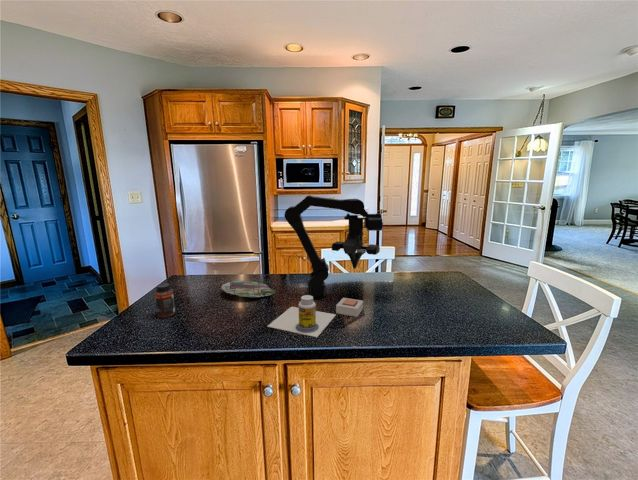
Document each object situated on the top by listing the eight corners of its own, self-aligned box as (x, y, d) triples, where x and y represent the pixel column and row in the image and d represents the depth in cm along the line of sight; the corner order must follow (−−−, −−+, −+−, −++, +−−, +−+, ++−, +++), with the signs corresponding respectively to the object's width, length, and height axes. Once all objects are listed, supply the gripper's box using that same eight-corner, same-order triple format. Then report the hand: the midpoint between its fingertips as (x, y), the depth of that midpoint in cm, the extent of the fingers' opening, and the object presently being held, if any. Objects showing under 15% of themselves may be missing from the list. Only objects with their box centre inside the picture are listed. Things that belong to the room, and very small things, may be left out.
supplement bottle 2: (296, 329, 97) (295, 299, 95) (302, 321, 103) (301, 293, 101) (312, 331, 96) (312, 301, 94) (317, 323, 101) (317, 295, 99)
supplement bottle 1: (179, 312, 110) (176, 283, 108) (166, 319, 105) (162, 288, 103) (166, 310, 112) (163, 281, 110) (153, 317, 107) (149, 286, 105)
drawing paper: (267, 326, 100) (267, 325, 100) (291, 307, 115) (291, 306, 115) (317, 337, 93) (317, 336, 93) (335, 315, 108) (335, 314, 108)
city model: (287, 300, 127) (288, 286, 127) (232, 307, 114) (233, 291, 113) (262, 284, 147) (262, 272, 147) (213, 289, 134) (214, 275, 133)
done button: (342, 309, 110) (342, 303, 110) (346, 305, 114) (346, 298, 114) (353, 311, 109) (353, 304, 108) (356, 306, 113) (357, 300, 112)
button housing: (336, 313, 110) (336, 305, 109) (343, 304, 117) (343, 297, 116) (357, 316, 107) (357, 309, 106) (363, 308, 114) (363, 300, 113)
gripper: (326, 232, 117) (326, 270, 120) (373, 235, 109) (371, 277, 112) (336, 228, 127) (336, 263, 130) (380, 231, 119) (379, 269, 122)
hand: (354, 268), depth 123 cm, fingers closed
